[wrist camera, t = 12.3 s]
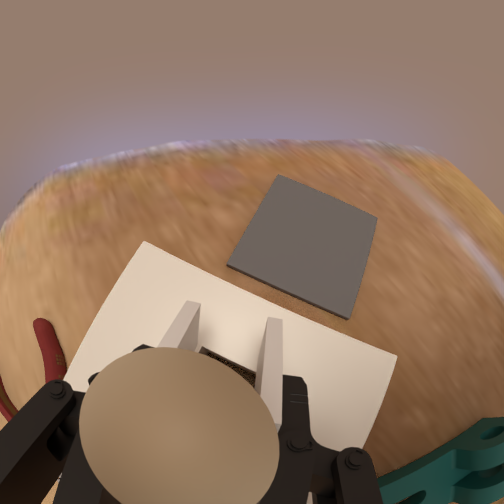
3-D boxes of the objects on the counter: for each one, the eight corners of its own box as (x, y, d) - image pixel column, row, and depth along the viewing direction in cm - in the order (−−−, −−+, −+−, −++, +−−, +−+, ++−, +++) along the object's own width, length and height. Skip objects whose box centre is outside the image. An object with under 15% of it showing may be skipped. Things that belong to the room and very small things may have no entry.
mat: (375, 220, 26) (377, 217, 26) (347, 320, 21) (349, 318, 21) (277, 177, 28) (278, 174, 27) (226, 265, 23) (226, 263, 23)
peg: (256, 386, 16) (314, 402, 4) (233, 431, 15) (224, 550, 2) (208, 362, 17) (130, 310, 4) (184, 407, 15) (57, 456, 3)
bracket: (481, 418, 17) (534, 413, 10) (481, 466, 14) (529, 469, 7) (332, 492, 15) (373, 530, 8) (337, 543, 12) (370, 584, 5)
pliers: (78, 531, 10) (66, 539, 8) (-8, 360, 17) (-24, 356, 15) (163, 513, 13) (156, 525, 11) (55, 317, 20) (39, 310, 18)
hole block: (372, 361, 20) (397, 356, 16) (301, 508, 14) (314, 529, 10) (157, 262, 23) (144, 240, 19) (81, 399, 17) (54, 398, 13)
